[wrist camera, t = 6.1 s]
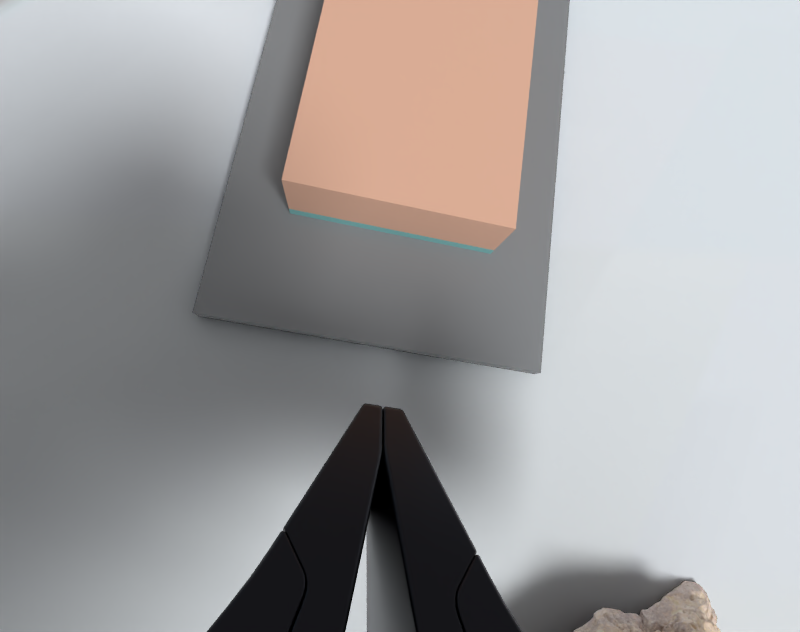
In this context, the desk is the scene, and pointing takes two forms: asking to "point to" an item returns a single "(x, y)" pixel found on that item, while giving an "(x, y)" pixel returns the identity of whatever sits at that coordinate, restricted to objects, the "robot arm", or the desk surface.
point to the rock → (661, 614)
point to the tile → (415, 119)
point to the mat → (378, 251)
